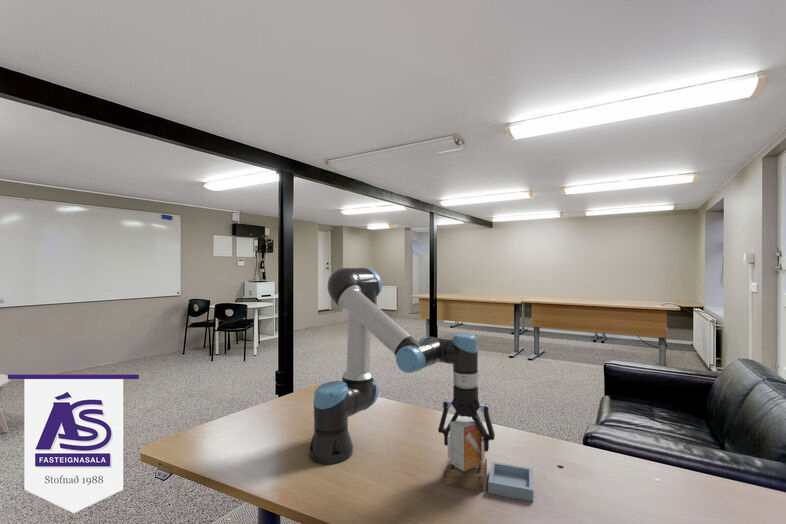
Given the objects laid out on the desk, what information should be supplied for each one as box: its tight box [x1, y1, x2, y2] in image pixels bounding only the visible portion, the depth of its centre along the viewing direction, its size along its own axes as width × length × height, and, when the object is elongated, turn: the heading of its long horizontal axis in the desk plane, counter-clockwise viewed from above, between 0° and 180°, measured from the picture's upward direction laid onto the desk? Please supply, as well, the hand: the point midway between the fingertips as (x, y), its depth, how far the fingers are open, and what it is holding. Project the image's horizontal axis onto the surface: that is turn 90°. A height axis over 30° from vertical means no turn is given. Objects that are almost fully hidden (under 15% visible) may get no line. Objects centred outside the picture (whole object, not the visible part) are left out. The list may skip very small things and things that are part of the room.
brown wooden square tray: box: [444, 457, 488, 492], centre depth 113 cm, size 11×11×4 cm
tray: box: [487, 461, 534, 502], centre depth 109 cm, size 12×12×3 cm
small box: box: [449, 416, 483, 472], centre depth 114 cm, size 8×6×13 cm
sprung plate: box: [453, 465, 480, 474], centre depth 113 cm, size 7×8×1 cm
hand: (466, 458), depth 114 cm, fingers closed on small box, 10 cm apart
